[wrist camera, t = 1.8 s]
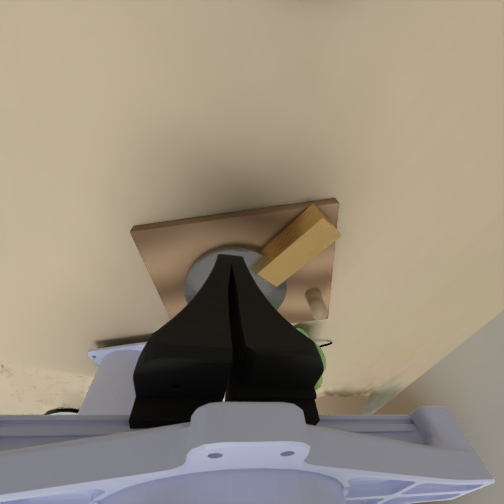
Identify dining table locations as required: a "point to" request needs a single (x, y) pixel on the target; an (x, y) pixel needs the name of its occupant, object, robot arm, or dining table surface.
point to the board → (236, 233)
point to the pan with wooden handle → (272, 256)
